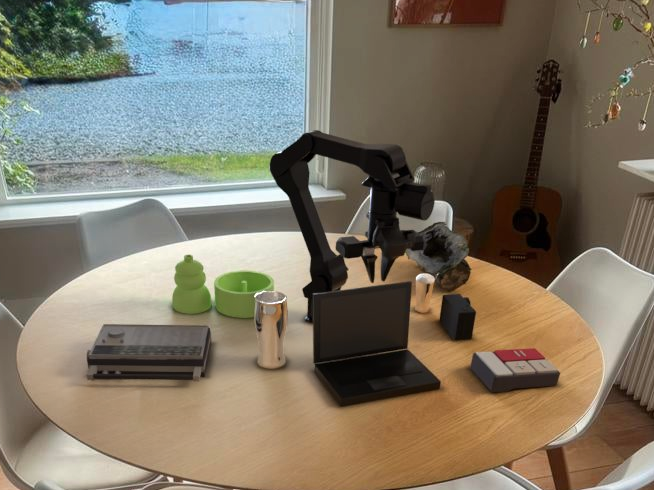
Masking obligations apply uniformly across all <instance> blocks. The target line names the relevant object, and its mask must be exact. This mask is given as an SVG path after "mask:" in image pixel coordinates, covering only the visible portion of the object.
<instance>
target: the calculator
mask: <svg viewBox="0 0 654 490" xmlns="http://www.w3.org/2000/svg"><path fill="white" fill-rule="evenodd" d="M469 368H470V370H471V371H472V372H473V373H474V374H475V376H477V378H478V379H479V380H480V381H481V382H482V383H483V384H484V385H485V387H486V388H487V389H488V390H489V391H490V392H491V393H507V392H509V391H511V390H513V389H526V388H528V389H529V388H541V387H553V386H557V385H558V384H559V383H558V382H559V379H560V376H561V372H560V371H559V369H558V368H557V367H556V366H555V365H554V364H553V363H552V362H551V361H550V360H549V359H547V358H546V356H544V354H542V353H541V352H540V351H539V350H537V348H535V347H534V348H532V347H531V348H514V349H496V350H493V351H476V352H473V353H472V357H471V361H470V366H469Z"/></svg>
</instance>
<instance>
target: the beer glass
mask: <svg viewBox="0 0 654 490" xmlns="http://www.w3.org/2000/svg"><path fill="white" fill-rule="evenodd" d="M288 320H289V319H288V299H287V295H286V294H285V293H283V292H282V291H278V290H274V291H264V292H260V293H258V294H256V295H255V304H254V317H253V321H254V327H255V333H256V339H257V343H258V353H257V365H258V366H259V367H261V368H263V369H268V370H269V369H270V370H274V369H280V368H281V367H284V365H286V357H285V352H284V348H285V347H284V346H285V345H284V344H285V338H286V333H287V327H288Z"/></svg>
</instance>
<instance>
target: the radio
mask: <svg viewBox="0 0 654 490" xmlns="http://www.w3.org/2000/svg"><path fill="white" fill-rule="evenodd" d="M211 347H212V331H211V327H210V325H206V324H205V325H204V324H203V325H202V324H135V323H134V324H132V323H131V324H129V323H128V324H124V323H121V324H119V323H111V324H110V323H103V324H102V326H101V328H100V330H99V332H98V334H97V337H96V338H95V340H94V343H93V345H92V347H91V348H90V349H87V351H86V363H87V369H88V370H87V373H86V380H87V381H94V380H142V381H143V380H147V381H149V380H150V381H151V380H152V381H153V380H155V381H156V380H157V381H158V380H159V381H164V380H165V381H193V382H200V379H201V378H204V377H206V371H207V366H208V362H209V357H210V352H211Z"/></svg>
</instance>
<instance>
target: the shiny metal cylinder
mask: <svg viewBox="0 0 654 490" xmlns="http://www.w3.org/2000/svg"><path fill="white" fill-rule="evenodd" d="M438 274H439V273H438ZM437 276H438V275H437ZM437 276H436V277H437ZM435 279H436V278H434V277H433V276H432V275H431V274H429V273H419V274H418V275H417V276H416V277H415V296H414V297H415V300H414V310H415V312H418V313H423V314H425V313H428V311H429V309H430V304H431V299H432V294H433V290H434V286H435V283H436V281H435Z"/></svg>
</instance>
